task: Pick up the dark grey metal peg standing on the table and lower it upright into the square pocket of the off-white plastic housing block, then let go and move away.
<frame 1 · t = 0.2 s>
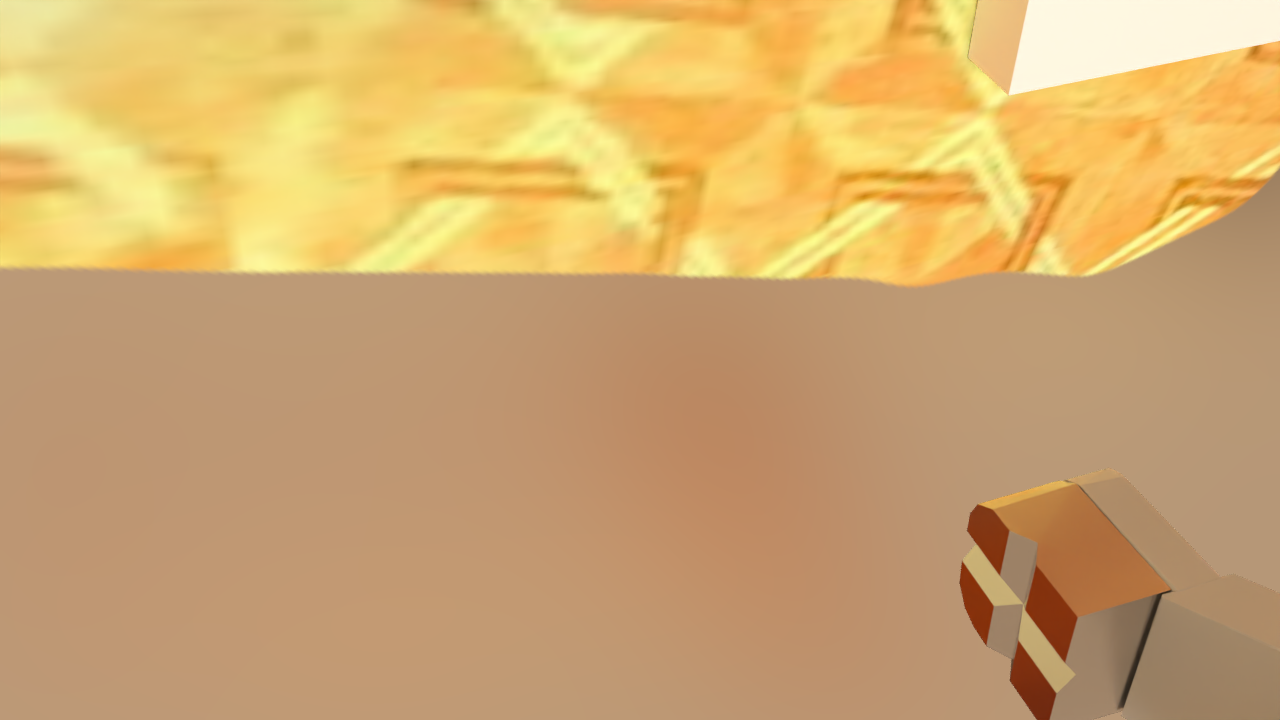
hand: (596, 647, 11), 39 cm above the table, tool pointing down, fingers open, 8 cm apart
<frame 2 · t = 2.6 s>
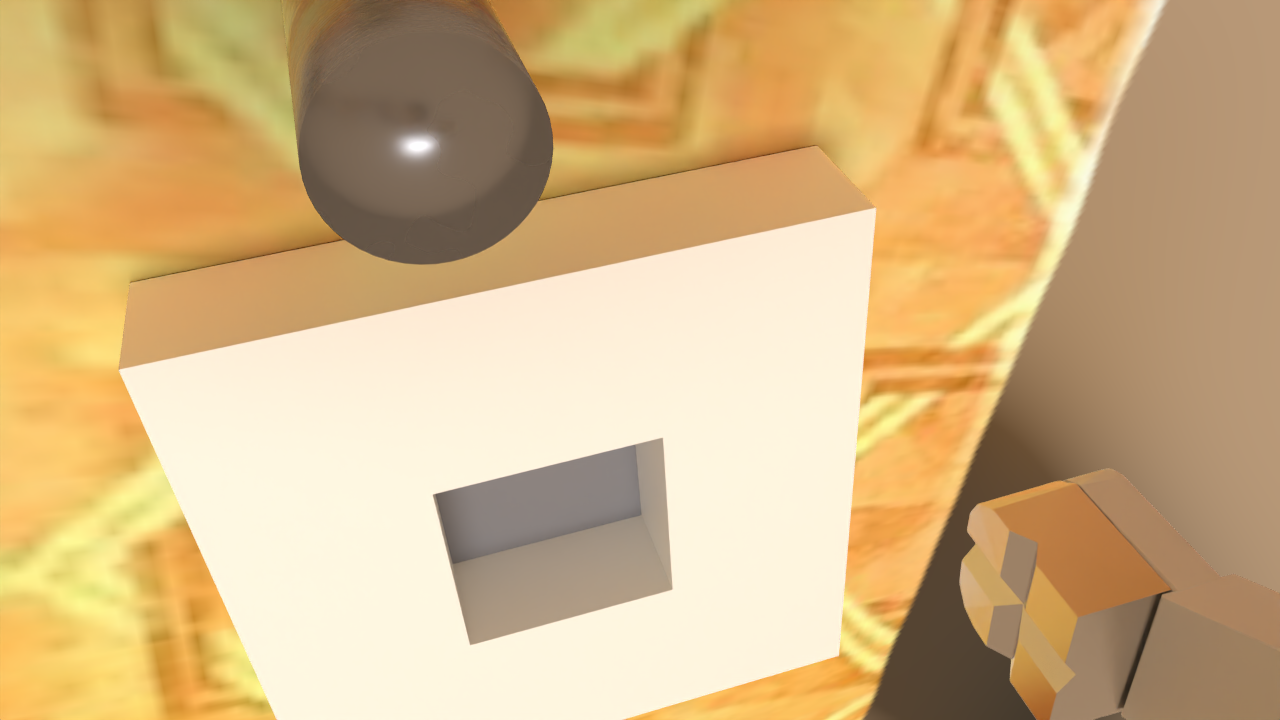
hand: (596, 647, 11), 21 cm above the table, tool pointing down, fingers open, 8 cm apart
housing: (535, 463, 38), on the table
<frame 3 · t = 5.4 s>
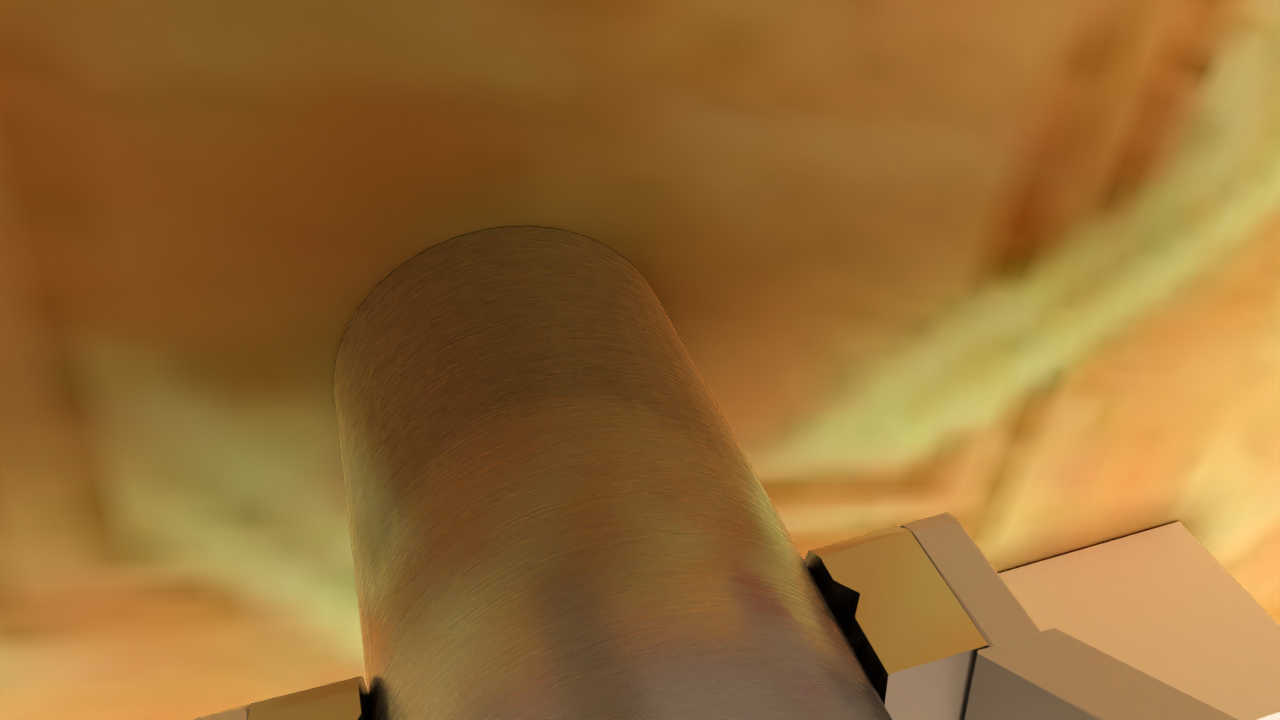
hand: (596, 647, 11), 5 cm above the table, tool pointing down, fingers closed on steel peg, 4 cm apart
steel peg: (507, 375, 14), on the table, touching gripper
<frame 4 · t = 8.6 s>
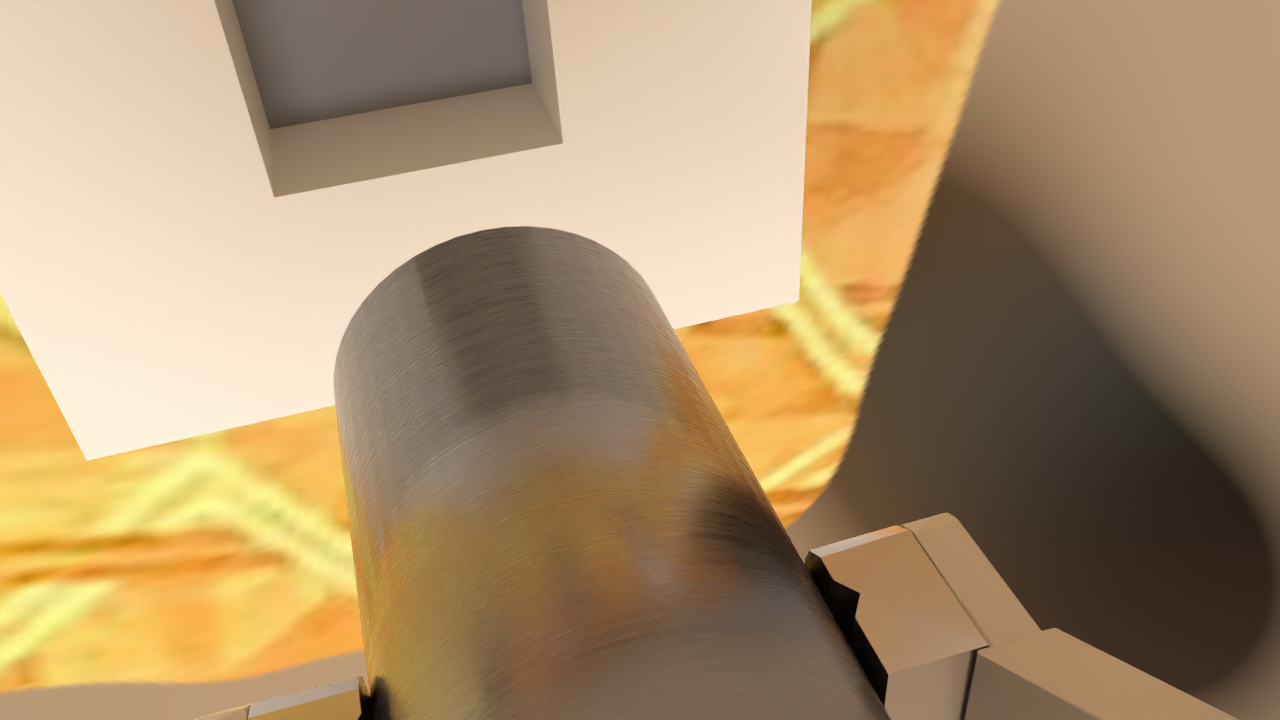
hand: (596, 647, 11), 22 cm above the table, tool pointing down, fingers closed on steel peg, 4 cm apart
steel peg: (506, 374, 14), point 17 cm above the table, touching gripper
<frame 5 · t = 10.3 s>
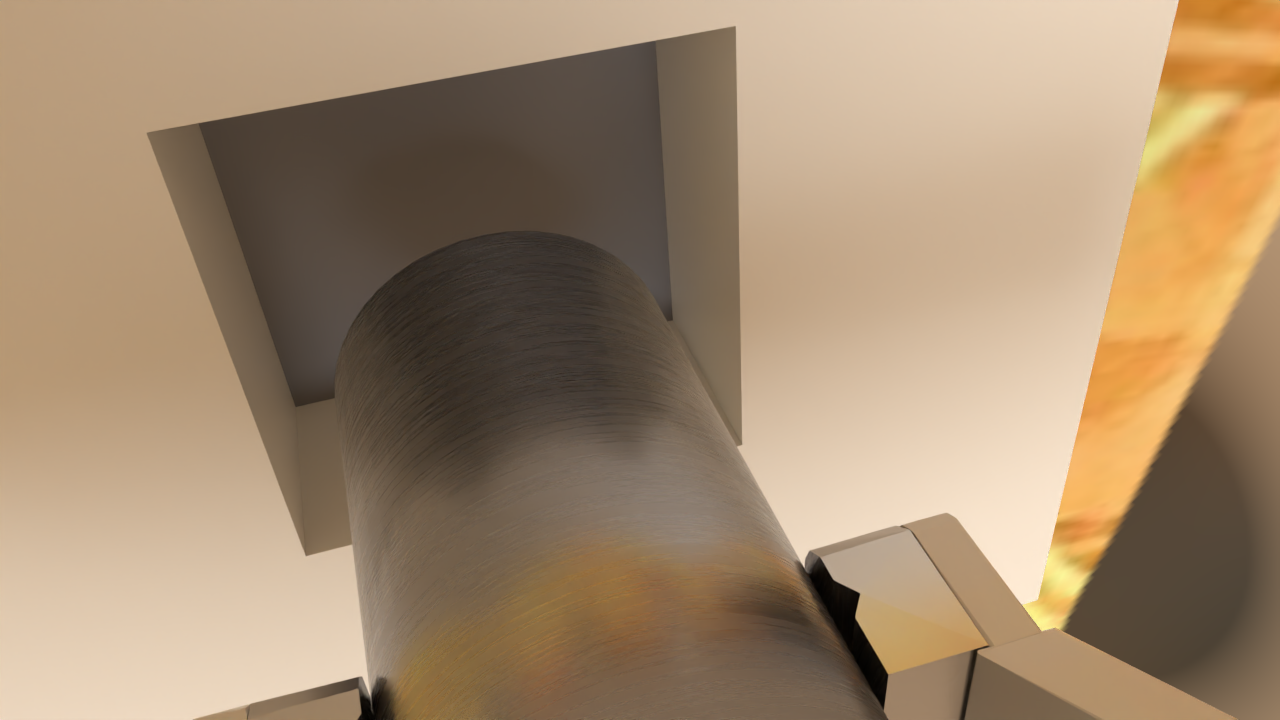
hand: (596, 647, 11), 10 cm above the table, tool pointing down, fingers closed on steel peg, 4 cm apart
steel peg: (507, 378, 14), point 5 cm above the table, touching gripper
housing: (454, 185, 18), on the table
when the fingers open (6 cm above the table, at t = 11.7 s): steel peg drops 1 cm, resting on housing.
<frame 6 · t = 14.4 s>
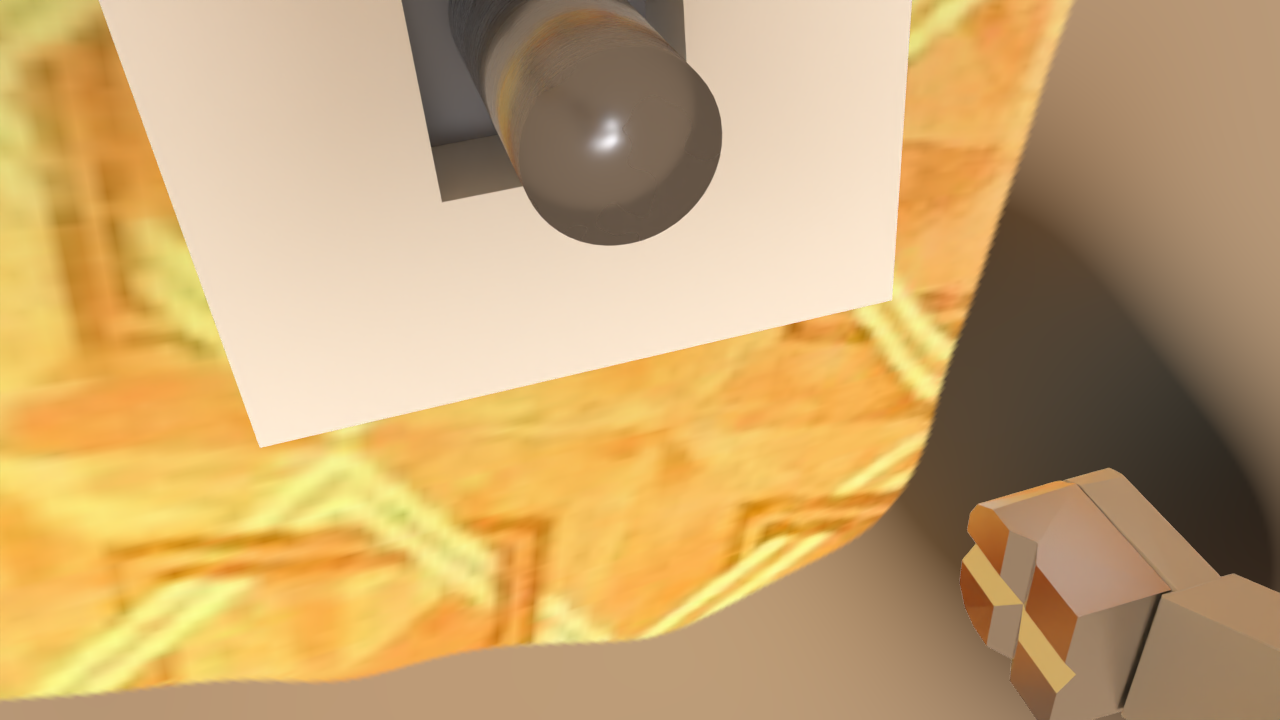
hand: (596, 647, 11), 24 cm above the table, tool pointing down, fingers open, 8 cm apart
steel peg: (527, 12, 31), resting on housing
housing: (522, 6, 31), on the table
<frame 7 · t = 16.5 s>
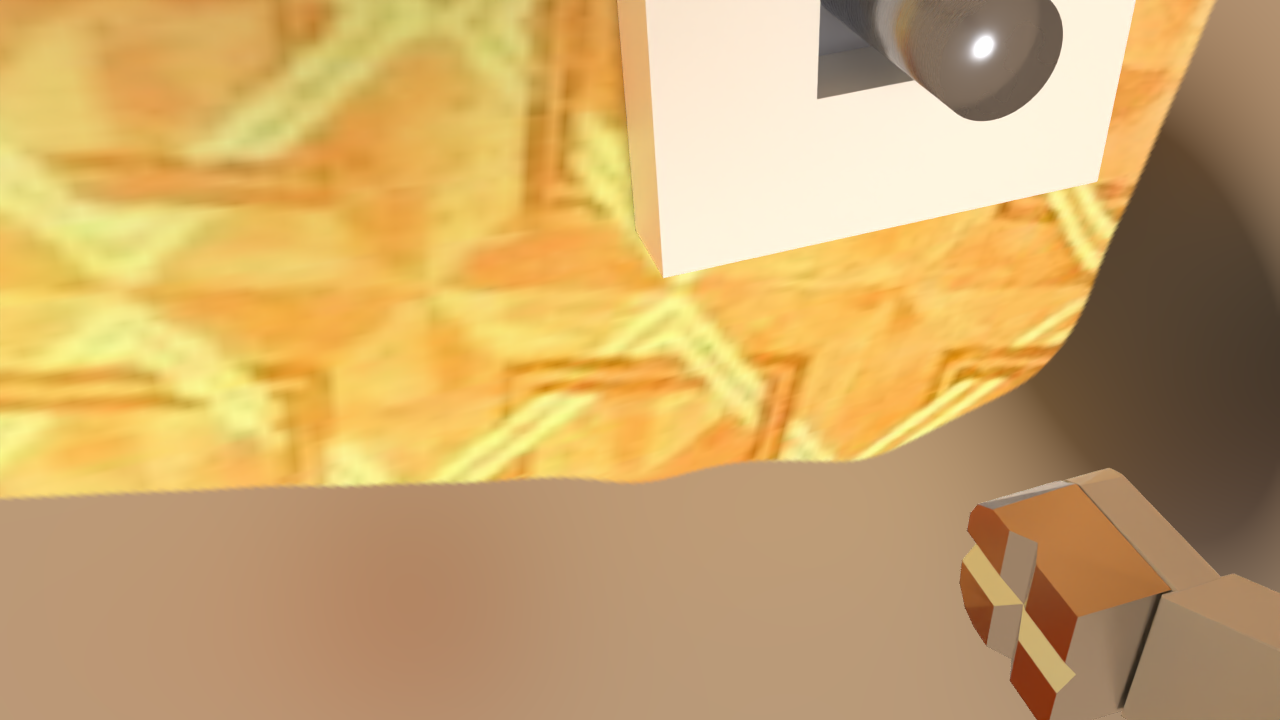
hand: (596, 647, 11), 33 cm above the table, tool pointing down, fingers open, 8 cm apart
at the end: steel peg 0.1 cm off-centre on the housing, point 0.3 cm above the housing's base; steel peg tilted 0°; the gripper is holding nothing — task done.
